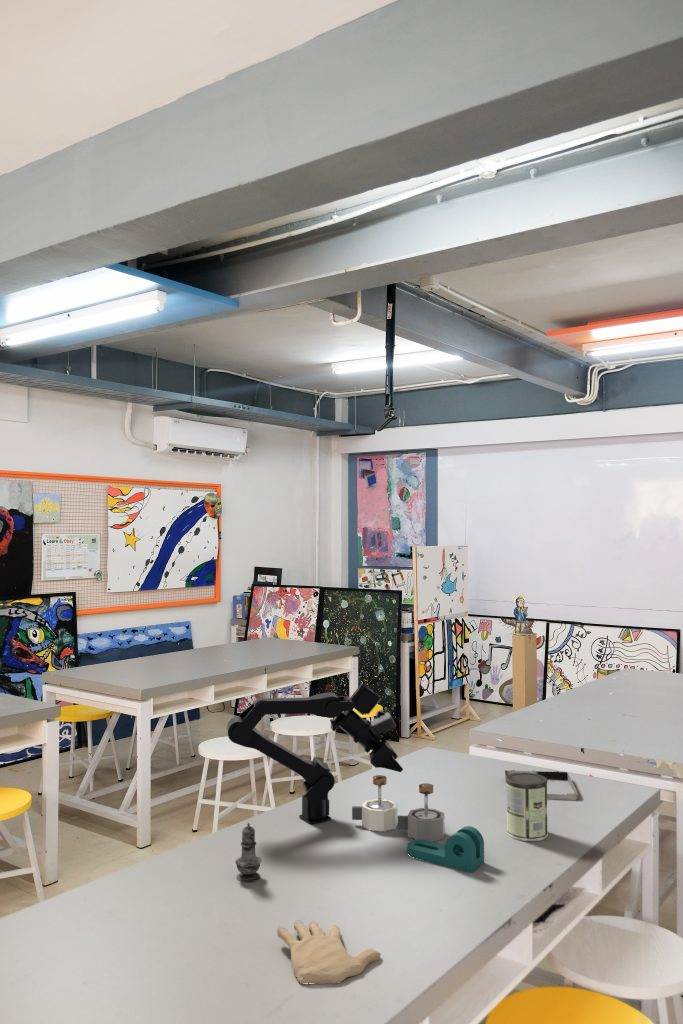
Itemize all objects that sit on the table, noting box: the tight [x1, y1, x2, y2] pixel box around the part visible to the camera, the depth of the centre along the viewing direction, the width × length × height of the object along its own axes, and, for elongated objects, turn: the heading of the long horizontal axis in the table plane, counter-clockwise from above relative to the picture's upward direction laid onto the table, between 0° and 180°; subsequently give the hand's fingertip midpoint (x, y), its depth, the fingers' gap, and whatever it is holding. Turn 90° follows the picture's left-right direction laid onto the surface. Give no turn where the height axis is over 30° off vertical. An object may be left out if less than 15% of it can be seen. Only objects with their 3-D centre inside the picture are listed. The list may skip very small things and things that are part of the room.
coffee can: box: [505, 773, 549, 842], centre depth 209 cm, size 10×10×14 cm
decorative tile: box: [504, 769, 579, 801], centre depth 246 cm, size 20×3×20 cm
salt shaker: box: [234, 822, 263, 883], centre depth 184 cm, size 6×6×12 cm
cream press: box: [351, 798, 399, 832], centre depth 215 cm, size 11×9×5 cm
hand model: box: [276, 919, 381, 984], centre depth 150 cm, size 19×5×20 cm
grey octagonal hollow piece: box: [397, 807, 446, 842], centre depth 208 cm, size 11×9×5 cm
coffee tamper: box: [415, 782, 437, 820], centre depth 209 cm, size 6×6×8 cm
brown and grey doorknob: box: [369, 774, 390, 810], centre depth 216 cm, size 6×6×8 cm
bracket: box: [406, 825, 485, 874], centre depth 194 cm, size 18×7×8 cm, turn 56°
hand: (399, 764), depth 225 cm, fingers open, 9 cm apart
